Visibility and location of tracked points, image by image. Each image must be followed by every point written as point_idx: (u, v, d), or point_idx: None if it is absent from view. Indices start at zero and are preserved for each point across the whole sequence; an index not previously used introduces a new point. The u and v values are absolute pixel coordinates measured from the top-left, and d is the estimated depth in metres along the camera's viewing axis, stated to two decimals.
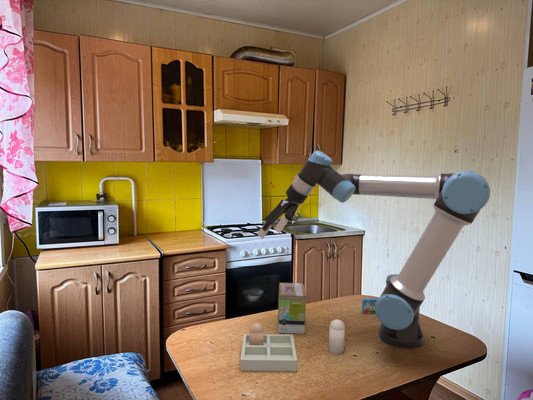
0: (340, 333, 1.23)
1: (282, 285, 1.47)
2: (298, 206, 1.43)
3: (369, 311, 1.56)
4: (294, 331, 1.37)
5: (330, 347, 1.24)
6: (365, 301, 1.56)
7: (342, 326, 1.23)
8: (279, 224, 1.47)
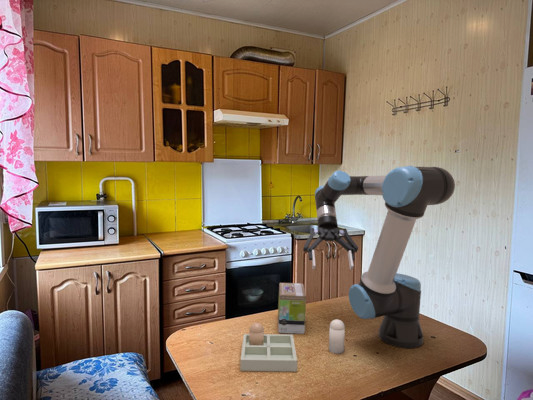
0: (340, 333, 1.23)
1: (282, 285, 1.47)
2: (348, 234, 1.42)
3: None
4: (294, 331, 1.37)
5: (330, 347, 1.24)
6: None
7: (342, 326, 1.23)
8: (349, 261, 1.36)
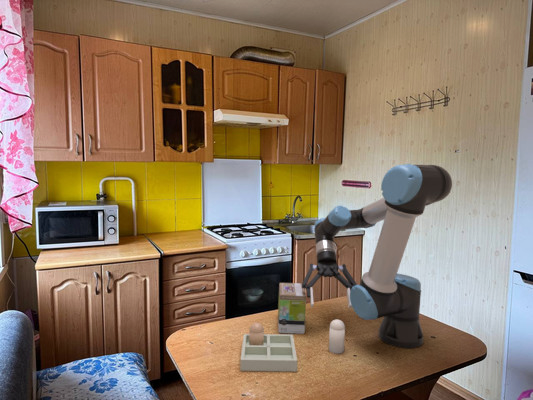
0: (340, 333, 1.23)
1: (282, 285, 1.47)
2: (347, 270, 1.40)
3: None
4: (294, 331, 1.37)
5: (330, 347, 1.24)
6: None
7: (342, 326, 1.23)
8: (348, 299, 1.35)
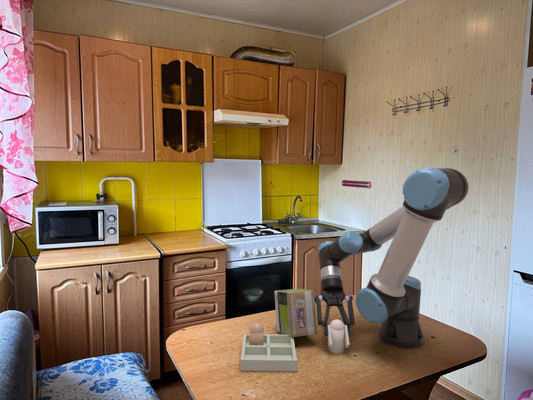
0: (340, 333, 1.23)
1: (293, 303, 1.27)
2: None
3: None
4: None
5: (330, 347, 1.24)
6: None
7: (342, 326, 1.23)
8: (345, 337, 1.24)
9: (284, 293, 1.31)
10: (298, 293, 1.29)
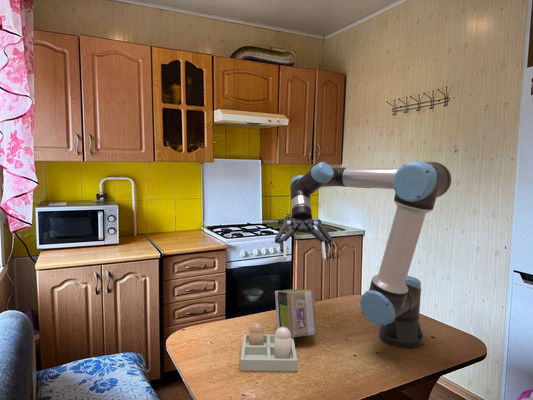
0: (285, 342, 1.14)
1: (293, 304, 1.27)
2: None
3: None
4: None
5: (275, 357, 1.15)
6: None
7: (287, 334, 1.14)
8: (322, 253, 1.30)
9: (284, 293, 1.31)
10: (298, 293, 1.29)
